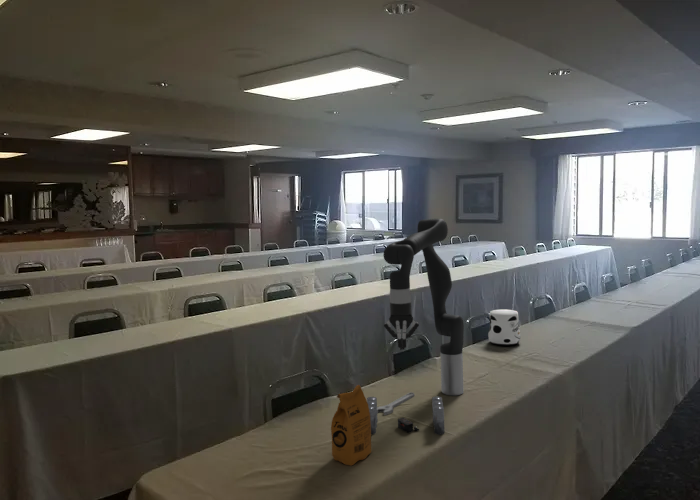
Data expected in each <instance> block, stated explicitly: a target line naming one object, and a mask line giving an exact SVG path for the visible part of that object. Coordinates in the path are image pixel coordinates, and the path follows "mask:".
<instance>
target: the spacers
mask: <svg viewBox="0 0 700 500" xmlns="http://www.w3.org/2000/svg"><path fill="white" fill-rule="evenodd" d="M431 399H432V400H431V401H432V403H431V406H432V423H433V424H432V425H433V432H434V434H435V435H437V436H438V435H439V436H441V435H442V436H443V435H444V434H445V433H446V432H445V408H444V402H443V397H442V396H433V397H432V398H431ZM366 401H367V403H368V407H369V413H370V423H371V435H375V434H376V433H377V427H378V424H377V423H378V422H379V421H378V413H377V407H378V400H377V397H376V396H367V398H366Z"/></svg>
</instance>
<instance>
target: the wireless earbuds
mask: <svg viewBox="0 0 700 500" xmlns="http://www.w3.org/2000/svg"><path fill="white" fill-rule="evenodd" d="M397 427H398V429H400V430H402V431H404V432H405V433H407V434H410V433H414V431H415V432H418V431H420V428H418V427H417V426H414V422H412V421H411V420H409V419H407V418H405V417H400V418H398V419H397Z"/></svg>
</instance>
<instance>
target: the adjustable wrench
mask: <svg viewBox="0 0 700 500" xmlns="http://www.w3.org/2000/svg"><path fill="white" fill-rule="evenodd" d="M414 397H415V392H412V391H411V392H407V393H406V394H405V395H402V396H401V397H399V398H397V399H395V400H394V401H391V402H390V403H388V404H386V405H380V406H377V414H378V413H383V416H387V415H390V414H392V413H394V408H396V407H398V406H400V405H402V404H404V403H405V402H407V401H408V400H410V399H412V398H414Z"/></svg>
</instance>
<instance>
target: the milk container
mask: <svg viewBox="0 0 700 500" xmlns="http://www.w3.org/2000/svg"><path fill="white" fill-rule="evenodd" d="M519 317H520V316H519V312H518V311H517V310H513V309H506V308H505V309H493V310H490V311H489V329H488V334H487V336H488V340H489V342H490V343H492V344H493V345H497V346H502V347H503V346H512V345H513V346H514V345H517V344H519V343H520V341H521V331H520V327H519Z"/></svg>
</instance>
